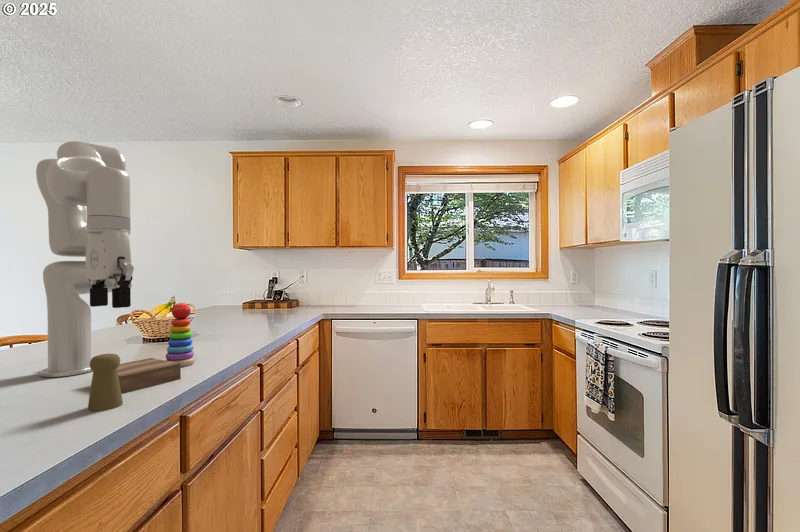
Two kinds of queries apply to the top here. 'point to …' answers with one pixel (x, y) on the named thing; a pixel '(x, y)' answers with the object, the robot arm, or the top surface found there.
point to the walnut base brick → (147, 373)
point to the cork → (105, 383)
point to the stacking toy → (180, 337)
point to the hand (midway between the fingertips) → (109, 306)
